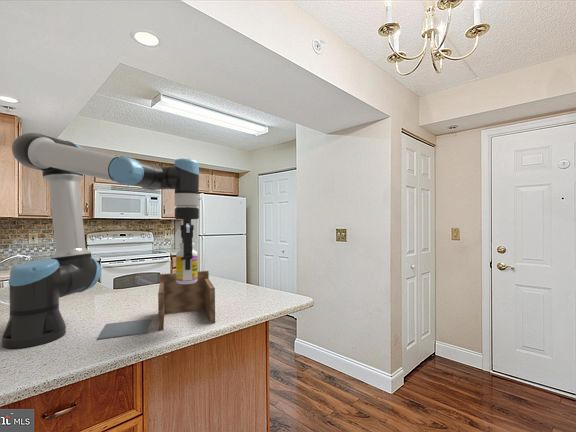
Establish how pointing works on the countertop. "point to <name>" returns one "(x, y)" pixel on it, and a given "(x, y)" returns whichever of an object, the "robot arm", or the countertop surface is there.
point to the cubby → (185, 296)
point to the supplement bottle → (180, 266)
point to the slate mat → (125, 329)
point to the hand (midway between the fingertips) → (186, 277)
